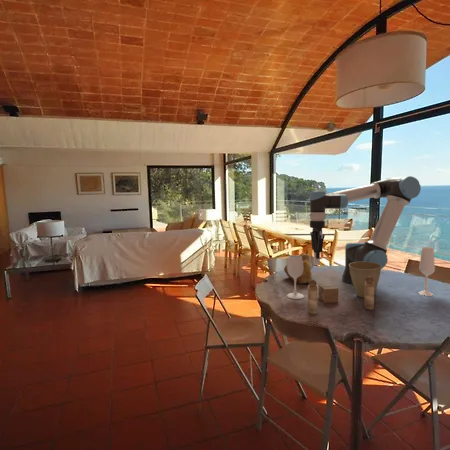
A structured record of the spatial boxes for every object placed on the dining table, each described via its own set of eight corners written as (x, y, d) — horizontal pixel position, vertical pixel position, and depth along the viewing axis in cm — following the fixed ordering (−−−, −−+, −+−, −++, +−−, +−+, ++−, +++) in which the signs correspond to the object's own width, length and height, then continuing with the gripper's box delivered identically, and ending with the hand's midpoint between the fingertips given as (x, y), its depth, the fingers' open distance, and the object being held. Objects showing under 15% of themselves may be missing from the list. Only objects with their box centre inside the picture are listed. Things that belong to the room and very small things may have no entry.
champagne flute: (418, 291, 158) (420, 246, 155) (433, 293, 154) (436, 247, 151) (417, 294, 152) (419, 248, 150) (433, 297, 149) (435, 249, 146)
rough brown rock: (286, 274, 199) (284, 252, 197) (312, 274, 193) (310, 251, 192) (282, 286, 177) (280, 262, 175) (311, 286, 171) (309, 260, 170)
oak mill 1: (306, 310, 136) (306, 278, 134) (314, 310, 136) (315, 278, 135) (310, 314, 132) (310, 281, 130) (318, 313, 132) (318, 280, 131)
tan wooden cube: (318, 298, 152) (318, 284, 151) (331, 297, 152) (331, 284, 152) (324, 303, 145) (324, 289, 144) (338, 302, 145) (338, 288, 145)
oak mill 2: (362, 306, 139) (363, 275, 137) (370, 306, 139) (371, 274, 138) (367, 309, 135) (368, 277, 133) (375, 309, 135) (376, 277, 134)
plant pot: (360, 302, 144) (360, 270, 142) (344, 292, 159) (342, 263, 157) (388, 298, 147) (388, 267, 145) (369, 288, 161) (368, 260, 159)
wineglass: (294, 300, 149) (294, 259, 147) (283, 295, 157) (283, 256, 154) (307, 297, 153) (307, 257, 151) (296, 292, 161) (296, 254, 158)
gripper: (305, 219, 163) (305, 261, 166) (315, 221, 150) (314, 267, 153) (318, 219, 164) (318, 261, 167) (329, 221, 151) (328, 266, 154)
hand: (316, 264), depth 160 cm, fingers closed
